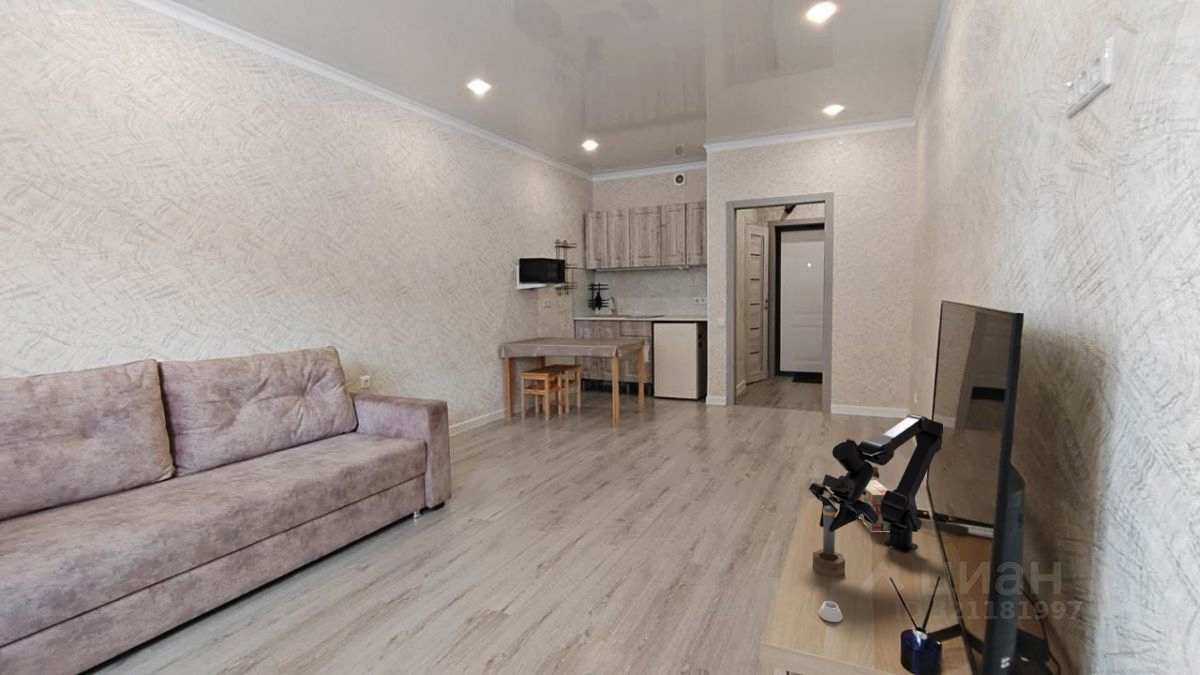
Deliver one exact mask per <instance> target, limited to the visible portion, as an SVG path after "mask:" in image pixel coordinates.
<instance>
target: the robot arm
mask: <svg viewBox="0 0 1200 675" xmlns="http://www.w3.org/2000/svg"><path fill="white" fill-rule="evenodd" d="M942 423H943V422H942ZM942 423H941V422H940V421H937V420H932V419H930V418H928V417H926V416H923V415H920V414H914V413H911V414H910V413H909V414H908V415H906V417H905V419H903V420H902V421H900V422H899V423H897V424H896V425H895V426H893V427H892V428H890V429H888V430H887V431H886V432H884V433H883V434H881V435H876V436H871V437H868V438H866V439H863V440H862V441H861V442H860V443H858V444H857V443H856V441H855V440H853V439H850V438H847V439H846V441H843V442H839V443H838V444H837V445H835V446H834V447H833V449H832V451H831V452H832V453H831V454H832V457H833V458H834V459H835V460H836V461H837V462H838V463H839V465H840V466H841V467H842V468H843V469H844V470H845V471H847V472H846V474H845V475H840V476H839V477H838V478H837V477H835V476H832V475H830V474H827V473H826V474H825V475H824V478H823V481H822V483H818V482H813V483H811V484H810V485H809V487H808V490H809V492H810V493H811V494H812V495H813V496H814V497H815V498H816V499H817V500H818V501H819V502H822V509H821V514H820V519H819V520H820V521H819V526H820V527H821V528H823V508H824V506H832V507H834V508H835V519H834V521H833V522H832V524H831V526H830V528H829V531H830V532H833V531H835V532H836V530H838V529H840V528H842V527H844V526H846V525H849V524H851V523H853V522H855V521H858V522H859V521H861V520H860V519H859V516H860V514H863V515H864V519H865V521H867V522H869V523H871V524H874V525H875V524H876V522H877V521H878V513H877V512H876V511H875V510H874V509H873V508H872V507H871V505H869V504H867V503H865V502H862V501H860V500H859V498H860V496H861V495H864V496H865V495H866V493H867V492H866V491H865V488H866V487H867V485H868V484H869V482H870V480H873V478H876V479H879V478H880V473H879V470H878V469H879V468H878V467H876V466H873V465H872V464H875V465H879V466H885V465H887V464H888V463H889V462H890V461H891V460H893V458H894V456H895V451H896V450H897V449H898V448H899V447H901V446H902V445H904V444H905V443H907V442H908V441H909V440H911V439H912V438H913V437H914V438H915V442H916V446H915V449H914V451H913V452H912V455H911V457H910V459H909V461H908V463H907V465H906V468H905V470H904V471H903V474H902V475H901V478H900V480H899V483H898V484H897V487H896V488H895V489H893V490H892V491H891V490H889V489H888V490H887V491H886V492H885V495H884V498H883V499H882V501H881V505H880V512H881V515H882V519H883V521H884V522H887V523H890V533H888V534H889V538H888V540H885V541H884V542H883V544H884V545H885V544H886V545H885V546H887V545H888V547H890V546H891V547H890V548H892V547H893V549H895V550H897V549H898V551H900V552H902V553H906V554H907V553H909V552H910V551H913V550H915V549H916V548H918V547H919V545H918V544H917V543H913V537H914V536H913V535H914V534H913V533H918V532H919V530H921V528H922V523H923V521H922V520H921V519H920V517H918V515H917V514H916V513H917V510H918V507H917V502H916V496H917V495H918V492H919V490H920V488H921V485H922V483H923V482H924V478H925V477H926V475H927V472H928V470H929V468H930V465H931V463H932V461H933V459H934V457H935V456H936V454H937V453H938V452H939V451H941V450H942V449H941V444H942V434H943V424H942ZM940 449H941V450H940ZM828 488H829V489H828ZM836 504H838V505H839V508H837V507H836ZM836 514H837V515H836Z"/></svg>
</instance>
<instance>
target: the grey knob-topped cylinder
mask: <svg viewBox="0 0 1200 675" xmlns="http://www.w3.org/2000/svg"><path fill="white" fill-rule="evenodd" d="M835 517H836V514H835V508H834V507H832V506H824V508H823V527H822V528H823V530H822V534H823V535H822V536H823V537H822V539H823V540H822V543H823V544H822V549H823V551H824V552H825V553H827V554H834V553H835V552H836V551H835V550H836V549H835V546H836V543H835V541H836V540H835V538H836V536H835V535H836V530H835V531H833V532H830V531H829V528H830V526H831V524H832V522H833V521H834V519H835Z"/></svg>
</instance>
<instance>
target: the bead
mask: <svg viewBox="0 0 1200 675" xmlns="http://www.w3.org/2000/svg"><path fill="white" fill-rule="evenodd" d="M812 566H813V569H814V571H815V572H817V573H818V574H821V575H823V576H825V577H835V578H837V577H840V576H842V575H844V574H845V573H846V572H845V571H846V568H845V567H846V559H845V558H844V555H843V553H842V554H841V553H840V552H837V551H835V553H834V554H827V553H825V552H824V551H823V548H821V549H818V550H815V551H813V552H812Z"/></svg>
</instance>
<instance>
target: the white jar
mask: <svg viewBox="0 0 1200 675" xmlns="http://www.w3.org/2000/svg"><path fill="white" fill-rule="evenodd" d="M818 616H819V617H820V618H821V619H822V620H825V621H828V622H832V623H838V622H842V620H843V616H844V615H843V613H842V610H840V608H839V605H838V604H837V603H836V602H834V601H830V600H826V601H824V602H823V604H822V605H821V606H820V608H819V609H818Z"/></svg>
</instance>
